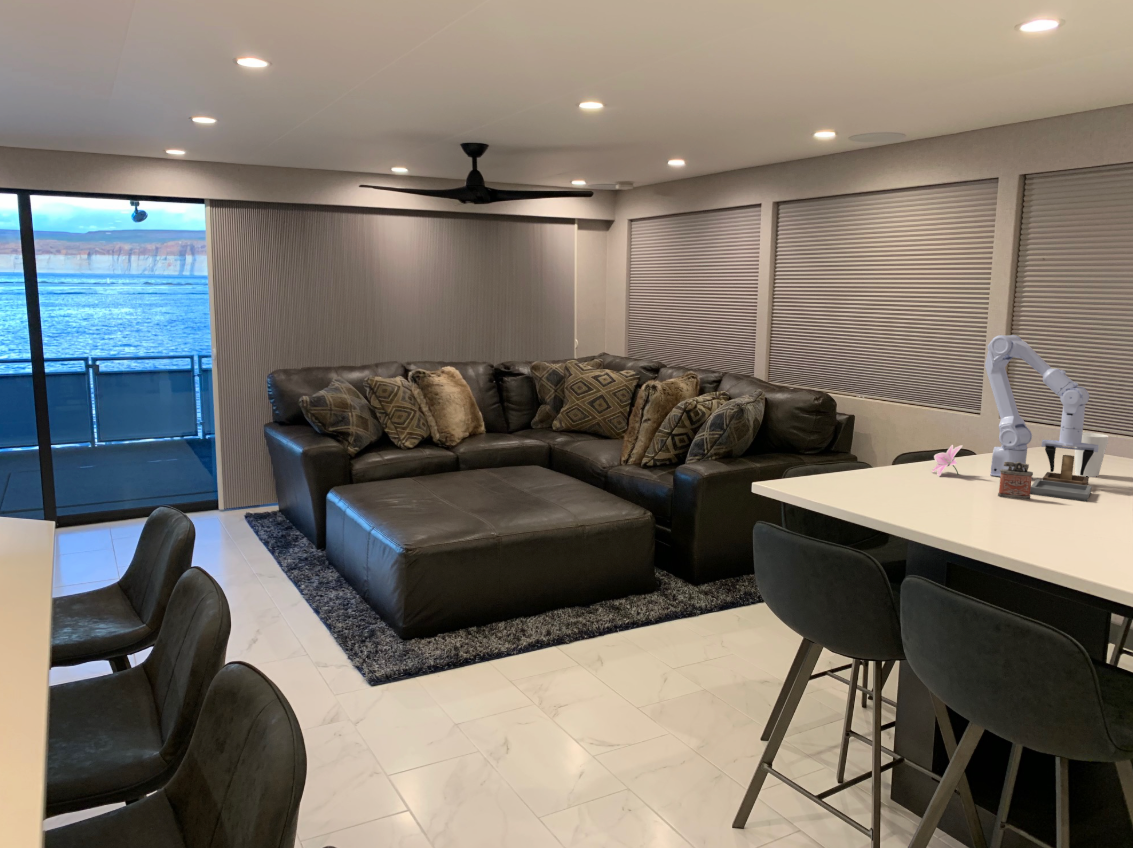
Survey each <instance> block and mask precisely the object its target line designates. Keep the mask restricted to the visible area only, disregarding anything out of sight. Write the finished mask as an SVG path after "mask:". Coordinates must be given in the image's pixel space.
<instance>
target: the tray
mask: <svg viewBox="0 0 1133 848" xmlns="http://www.w3.org/2000/svg"><path fill="white" fill-rule="evenodd" d="M1091 494H1092V485H1088V486H1086V485H1078V484H1070V483H1062V482H1054V481H1046V480H1043V479H1037V478H1036V479H1035V480H1034V482H1033V483H1032V484H1031V489H1030V495H1034V496H1042V497H1050V498H1058V499H1064V500H1065V499H1066V500H1073V501H1080V502H1086V503H1087V502H1088V501H1089V499H1090V496H1091Z"/></svg>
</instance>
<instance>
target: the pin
mask: <svg viewBox="0 0 1133 848" xmlns="http://www.w3.org/2000/svg"><path fill="white" fill-rule="evenodd" d="M1061 459H1062V460H1061V469H1060V474H1061V475H1060V479H1064V480H1072V475H1073V473H1074V465H1075V455H1071V454H1062V458H1061Z"/></svg>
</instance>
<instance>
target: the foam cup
mask: <svg viewBox="0 0 1133 848" xmlns="http://www.w3.org/2000/svg"><path fill="white" fill-rule="evenodd" d="M1109 437H1110V436H1109V435H1107V434H1102V433H1096V432H1095V433H1094V432H1086V431H1085V432H1083V433H1082V442H1081V443H1087V444H1094V445H1099V449H1098V452H1094V453H1093V455H1092V456H1091V458H1090V459H1089V461H1088V463H1087V465H1086V467H1085V470H1084V474H1083V475H1081V476H1085V477H1086V476H1088V477H1089V478H1097V477H1096V476H1098V477H1099V475H1100V472H1101V468H1102V464H1103V461H1104V456H1105V454H1106V453H1105V452H1106V451H1107V446H1108V444H1109V439H1110V438H1109ZM1074 448H1077V447H1074ZM1083 452H1084V450H1074V469H1075V471H1074V473H1075V475H1077V476H1080V471H1081V467H1082V459H1083Z"/></svg>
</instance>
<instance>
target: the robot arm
mask: <svg viewBox="0 0 1133 848" xmlns="http://www.w3.org/2000/svg"><path fill="white" fill-rule="evenodd" d="M986 347H987V354H986V358H985V363H984V368H985V371H986V374H987V377H988V382H989V385H990V387H991V391H992V395H993V398H994V402H995V405H996V408H997V412H998V415H999V417H1000V418H999V419H1000V421H999V424H998V429H999V435H998V436H999V437H998V441H999V444H1000V445H1001V446H994V447H993V450H992V456H991V465H990V476H992V477H993V476H994V477H1001V473H1000V470H1001V469H1008V468H1009V467H1007V466H1004V462H1014V463H1016V462H1021V463H1022V464H1027V456H1028V455H1027V454H1028V444H1029V443H1031V441H1032V438H1033V433H1032V431H1031V430H1030V428H1029V427H1028V426H1027V425H1026V422H1025V420H1024V419H1023V418H1022V417H1021V415H1020V413H1019V410H1018V406H1017V402H1016V400H1015V397H1014V393H1013V390H1012V386H1011V384H1010V380H1009V376H1008V373H1007V370H1006V367H1007V365H1008V364H1009V363H1010V361H1011V360H1012V359H1013V358H1015V359H1022V360H1023V362H1025V363H1026V364H1028V365H1029V366H1030V367H1031V368H1032V369H1034V370H1035V371H1036V372H1038V374H1040V375H1041V376H1042V382H1043V384H1044V385H1045V386H1046V387H1048V388H1049V389H1050V390H1051V391H1052V392H1053V393H1054V394H1055V395H1056V396H1057V397H1059V400H1060V403H1061V404H1062V412H1061V420H1060V422H1061V423H1060V429H1059V440H1055V439H1053V440H1052V439H1042V441H1041V447H1043V448H1044V450H1045V454H1046V456H1047V459H1048V462H1049V467H1050V471H1049V472H1052V473H1054V471H1055V458H1056V457H1055V456H1056V451H1057V449H1067V450H1074V451H1075V450H1084V452H1083V459H1082V467H1081V471H1080V475H1083V474H1084V470H1085V467H1086V465H1087V463H1088V461H1089V459H1090V458H1091V456H1092V455H1093V453H1094V452H1098V449H1099V445H1094V444H1087V443H1081V442H1082V433H1083V430H1084V421H1085V415H1086V413H1085V411H1086V404H1087V403H1088V402H1089V400H1090V393H1089V392H1088V390H1087V388H1086V387H1083V386H1079V383H1078V382H1077V381H1073V380H1072V379H1071V378H1070V377H1069V376H1068V375H1066V374H1067V372H1066V371H1065V369H1060V368H1056V367H1055V368H1052V367H1051V366H1050V364H1048V363H1047V362H1046V361H1045V360H1044V359H1043V358H1042V357H1041V356H1040V355H1039V354H1038V353H1037V351H1035V350H1034V349H1033V348H1032V347H1031V346H1030V345H1029V343H1027V342H1026V341H1025V340H1022V338H1021V337H1020V336H1018V335H1016V334H1011V335H1010V334H1009V335H1004V334H1003V335H1002V334H1000V335H996V336H994V337H993V338H992V339H991V340H990V342H989V343H988V344H987V346H986ZM1075 447H1077V448H1075ZM1011 468H1012V470H1013V468H1014V467H1011ZM1023 470H1024V468H1023ZM1024 471H1025V470H1024ZM1080 475H1079V476H1080Z"/></svg>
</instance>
